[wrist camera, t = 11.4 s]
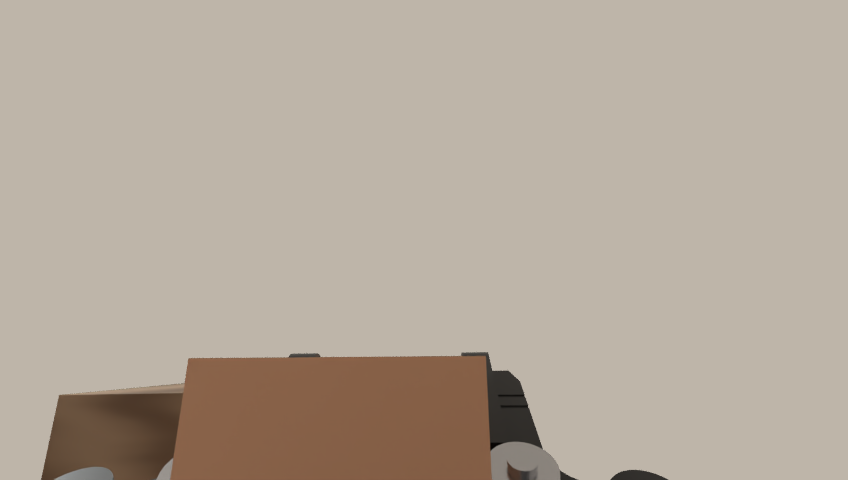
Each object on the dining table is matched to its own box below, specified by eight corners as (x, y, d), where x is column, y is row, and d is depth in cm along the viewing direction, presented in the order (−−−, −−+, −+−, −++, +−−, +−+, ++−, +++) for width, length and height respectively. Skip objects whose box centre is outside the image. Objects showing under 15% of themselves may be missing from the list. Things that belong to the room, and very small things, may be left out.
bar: (452, 423, 28) (451, 362, 29) (505, 759, 4) (486, 356, 5) (394, 423, 28) (395, 363, 29) (130, 745, 4) (188, 358, 6)
